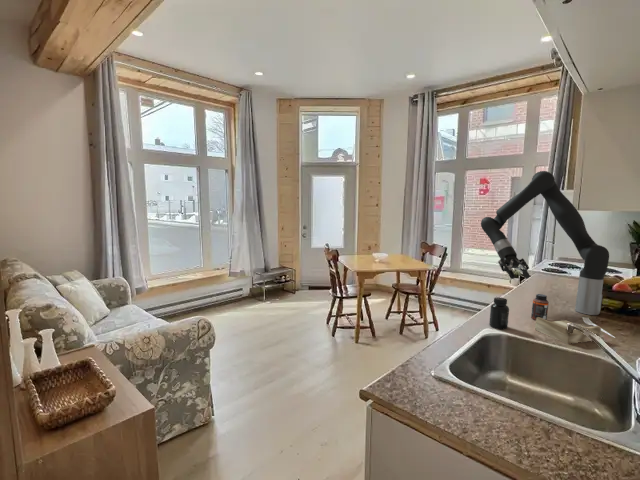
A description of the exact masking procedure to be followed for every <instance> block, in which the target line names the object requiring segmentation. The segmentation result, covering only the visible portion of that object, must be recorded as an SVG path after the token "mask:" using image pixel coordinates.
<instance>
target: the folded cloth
mask: <svg viewBox="0 0 640 480" xmlns="http://www.w3.org/2000/svg"><path fill="white" fill-rule="evenodd" d="M567 323H572V322H570V321H569V320H566V319H565V320H555V321H550V320H545V319H543V318H540V317H537V318H536V320H535V327H534V331H537V332H539V333H541V334H544V335H546V336H549V337H550V338H552V339H555V340H558V342H559V341H560V342H562V343H564V344H567V345H570V344H571V343H572V344H579V343H578V342H581V343H587V342H586V341H590V339H589V338H588V337H587V336H586V335H584V334H583V333H581V332H580V331H578V330H576V329H574V330H573V333H572V334H570V333H568V330H567ZM583 327H584V328H586V329H588V330H589V331H591V332H593V333H594V334H596V335H597V336H599V337H600V336H601V332H602V331H601V328H602V327H601V326H599V325H597V326H593V325H591V326H583ZM600 338H601V337H600Z"/></svg>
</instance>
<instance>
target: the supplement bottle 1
mask: <svg viewBox="0 0 640 480" xmlns="http://www.w3.org/2000/svg"><path fill="white" fill-rule="evenodd" d="M489 311H490V312H489V323H488V324H489V326H490V327H491V328H493V329H496V330H497V329H498V330H506V329H508V326H509V315H510V307H509V306H508V299H507V298H504V297H499V296H498V297H493V303H492V304H491V305H490V309H489Z"/></svg>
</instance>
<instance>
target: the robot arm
mask: <svg viewBox="0 0 640 480" xmlns="http://www.w3.org/2000/svg"><path fill="white" fill-rule="evenodd" d="M540 195H541V196H542V197H543V198H544V200H545V202H546V203H547V206H548V207H549V209H550V212H551V213H552V215H553V217H554V219H555V220H556V221H557V223H558V224H559V226H560V227H561V228H562V230H563V231H564V232H565V233H566V235H567V236H568V237H569V239H571V241H572V243H573V244H574V246H575V249H576V251H577V252H578V254H579V256H580V257H581V259H582V260H583V261H584V262H583V268H582V269H581V270H579V271H580V272H579V277H578V282H577V283H578V285H577V292H576V299H575V308H574V311H575V312H578V313H580V314H585V315H588V316H590V315H591V316H598V315H599V314H601V308H602V302H603V301H602V300H603V294H602V293H603V285H604V278H605V276H606V274H607V271H608V266H609V261H610V252H609V249H607V248H606V247H605V246H602V245H600V244H597V243H596V242H595V240H594V239H593V238H592V237H591V236H590V234H589V232H588V231H587V229H586V228H587V227H586V225H585V222H584V219H583V217H582V216H581V214H580V213H579V211H578V209H577V208H576V207H575V205H574V204H573V203H572V202H571V201H570V200H569V198H567V196H565V195H564V194H563V192H562V191H561V189H560V188H559V186H558V184H557V182H556V180H555V176H554V175H553V174H552V173H551V172H549V171H546V170H540V171H537V172H536V173H534V175H533V176H532V177H531V181H530V182H529V183H528V184H527V186H525V187H524V188H523V189H522V190H521V191H520V192H519V193H517V194H515V196H513V197H511V198H510V199H509V200H507V201H506V202H505V203H504V204H502V205H501V206H500V207H499V208H498V209H497V210H496V211H495V214H496V216H495V217H490V216H486V217H484V218H482V219H481V221H480V227H481V229H482V230H483V232H484V233H485V235H487V237H488V239H490V241H491V244H492V245H493V248H494V250H495V252H496V253H497V256H498V258H499V260H498V261H497V263H498V265H499V267H500V269H501V271H502V272H506V273H507V275H508V277H510V279H511V280H514V279H515V278H516V275H515V273H514V271H513V270H512V269H516V270H517V271H520V272H521V273H522V275H523V277H524V278H525V279H526V280H528V279H529V278H530V277H531V276H530V275H531V274H530V273H529V271H528V270H529V269H530V267H529V264H528V263H527V262H526V261H525V259H524V258H523V257H522V258H520V259H519V258H518V254H517V252H516V250H515V248H514V246H513V245H512V243H511V242H510V240H508V238H507V236H506V234H505V233H504V232H503V231H502V230H501V229H502V227H503V226H504V225H505V224H506V223H507V221H508V220H509V219H510V218H512V217H513V216H515V214H516V213H518V212H519V211H520V210H522V208H523V207H524V206H526V205H527V204H528V203H529V202H531V201H532V200H533V199H535V198H536V197H538V196H540Z"/></svg>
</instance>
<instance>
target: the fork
mask: <svg viewBox="0 0 640 480" xmlns="http://www.w3.org/2000/svg"><path fill="white" fill-rule="evenodd" d="M582 321H583V322H584V323H585V324H586V325H590V326H598V324H595V323H593V321H591V320H590V319H589V317H588V316H587V317H585V316H582ZM600 332H603V333H605V334H606V335H609V336H610V337H611V338H615V339H617V338H616V337H615V336H614V335H613V334H611V333H609V332H608V331H606V330H605V329H603V328H602V327H601V331H600Z"/></svg>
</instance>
